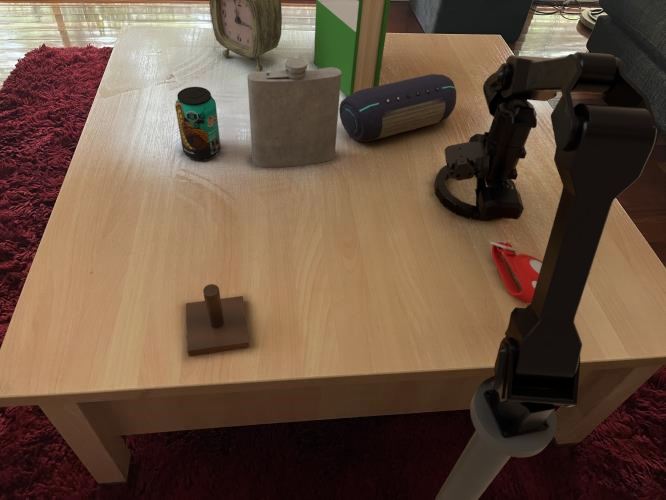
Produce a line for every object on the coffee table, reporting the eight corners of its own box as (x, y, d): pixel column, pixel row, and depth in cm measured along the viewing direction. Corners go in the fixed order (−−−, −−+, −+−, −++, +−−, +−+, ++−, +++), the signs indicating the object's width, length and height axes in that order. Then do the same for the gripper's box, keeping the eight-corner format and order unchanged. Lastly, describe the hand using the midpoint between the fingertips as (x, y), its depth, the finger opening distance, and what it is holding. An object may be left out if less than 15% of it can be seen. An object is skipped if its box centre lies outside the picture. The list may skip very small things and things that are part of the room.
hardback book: (377, 92, 120) (393, -20, 102) (349, 98, 117) (360, -15, 100) (340, 57, 130) (348, -49, 113) (313, 62, 127) (318, -46, 110)
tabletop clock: (215, 57, 126) (203, -59, 108) (241, 44, 131) (234, -68, 113) (259, 78, 121) (255, -41, 103) (285, 64, 126) (285, -51, 108)
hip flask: (332, 150, 103) (340, 52, 89) (337, 162, 101) (345, 64, 86) (251, 157, 100) (245, 57, 85) (254, 170, 97) (248, 69, 83)
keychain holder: (565, 266, 83) (565, 300, 75) (548, 285, 86) (546, 320, 78) (498, 228, 85) (491, 257, 76) (483, 248, 87) (475, 278, 79)
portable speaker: (357, 155, 102) (362, 110, 95) (332, 128, 108) (336, 84, 101) (458, 127, 112) (470, 84, 104) (431, 104, 118) (440, 62, 110)
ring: (529, 212, 94) (533, 204, 93) (457, 227, 90) (460, 218, 89) (488, 164, 103) (490, 155, 102) (421, 175, 100) (423, 167, 98)
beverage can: (175, 152, 100) (164, 95, 91) (202, 136, 104) (194, 80, 95) (202, 167, 97) (193, 110, 88) (228, 150, 101) (223, 94, 92)
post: (249, 347, 71) (245, 310, 65) (188, 356, 70) (179, 319, 64) (243, 300, 76) (239, 263, 70) (186, 308, 75) (178, 270, 69)
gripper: (449, 100, 87) (430, 174, 98) (460, 169, 74) (437, 246, 85) (516, 106, 87) (490, 180, 98) (539, 176, 74) (506, 252, 85)
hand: (480, 212), depth 91 cm, fingers open, 3 cm apart
